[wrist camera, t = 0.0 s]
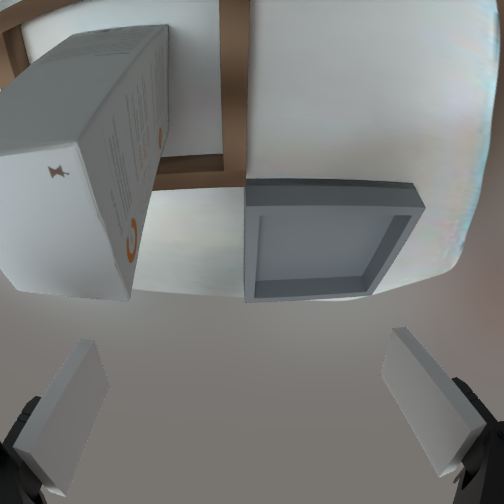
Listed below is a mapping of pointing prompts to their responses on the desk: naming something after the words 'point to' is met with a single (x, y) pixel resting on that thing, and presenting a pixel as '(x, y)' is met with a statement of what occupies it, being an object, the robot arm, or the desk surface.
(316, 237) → the slate tray
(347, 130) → the desk surface
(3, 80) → the walnut frame
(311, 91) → the desk surface
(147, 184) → the small box
